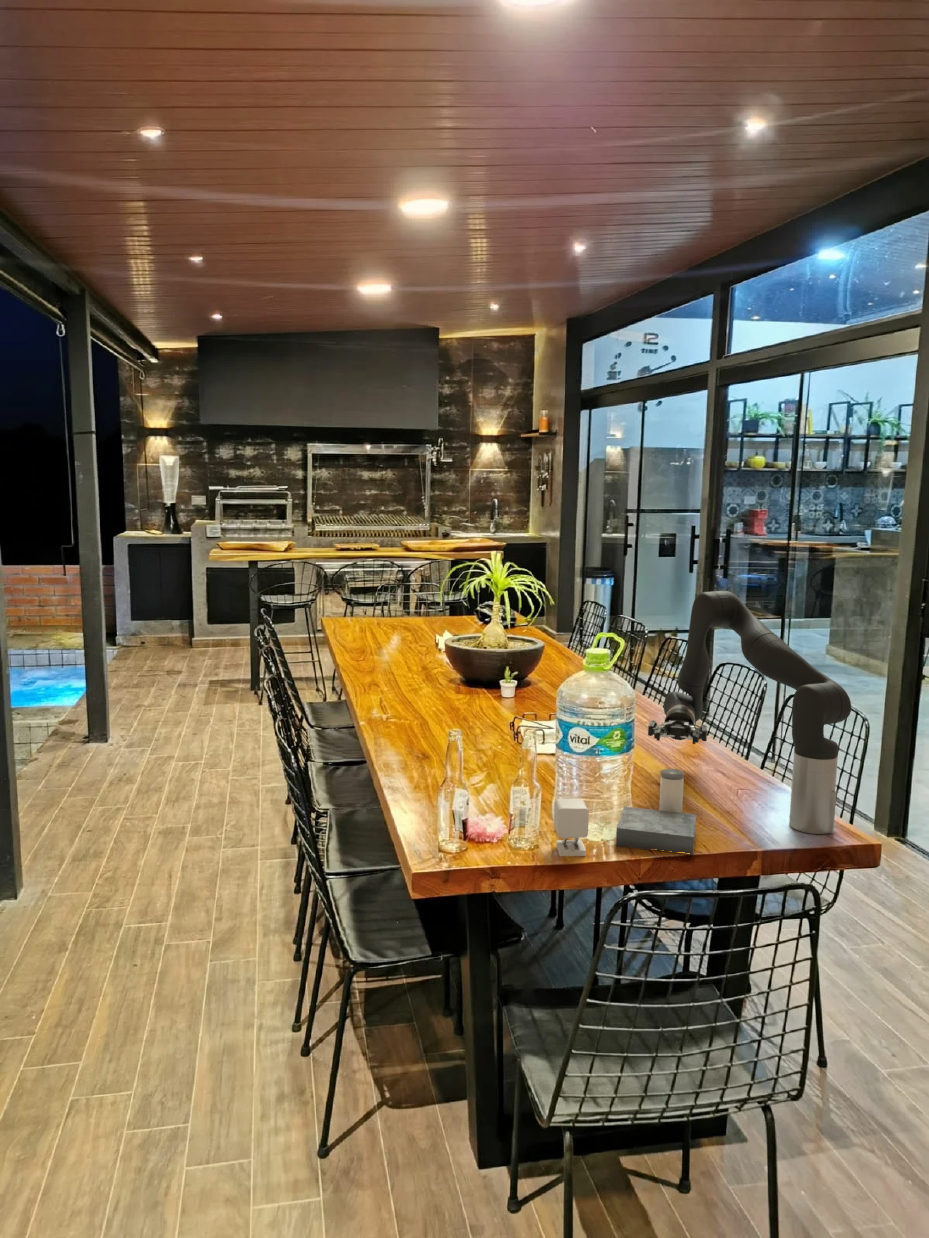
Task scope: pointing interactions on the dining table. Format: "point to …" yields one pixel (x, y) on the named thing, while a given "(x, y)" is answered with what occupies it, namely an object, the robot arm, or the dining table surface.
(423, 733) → the dining table surface
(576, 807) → the security camera
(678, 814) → the block
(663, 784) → the canister
